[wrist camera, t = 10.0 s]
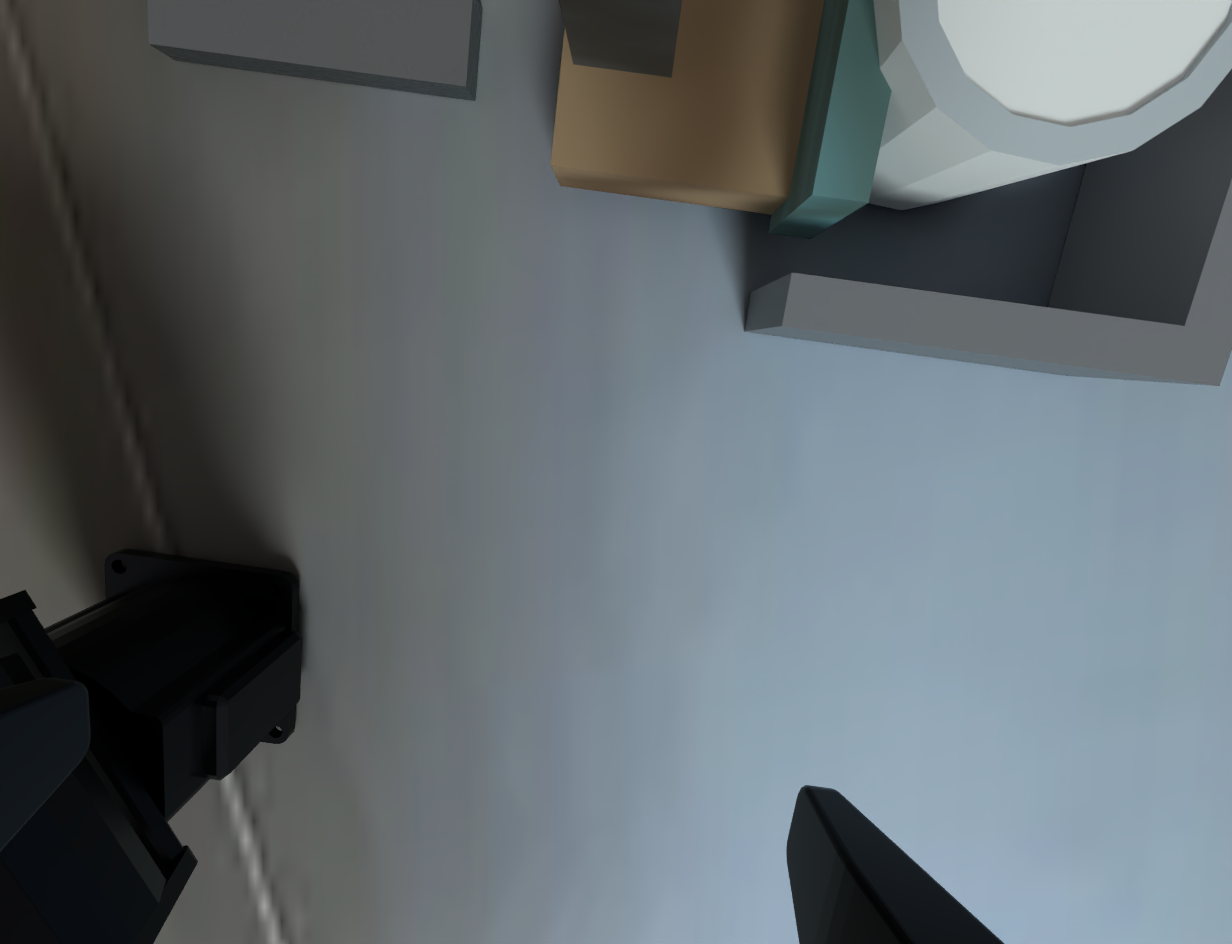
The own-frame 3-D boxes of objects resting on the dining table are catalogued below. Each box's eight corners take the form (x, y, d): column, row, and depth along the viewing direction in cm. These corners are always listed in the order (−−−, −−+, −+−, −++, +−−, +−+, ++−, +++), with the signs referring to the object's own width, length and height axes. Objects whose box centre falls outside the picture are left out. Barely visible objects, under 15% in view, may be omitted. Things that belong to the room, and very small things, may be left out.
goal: (744, 331, 19) (781, 326, 14) (832, -178, 16) (917, -404, 11) (1068, 375, 19) (1219, 385, 14) (1212, -128, 16) (1462, -335, 11)
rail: (175, 60, 18) (148, 43, 17) (173, -33, 17) (145, -55, 16) (475, 100, 18) (466, 86, 17) (482, 9, 17) (473, -11, 16)
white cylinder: (800, -30, 17) (919, -289, 10) (1050, -31, 17) (1344, -294, 10) (784, 232, 18) (879, 163, 11) (1014, 232, 18) (1251, 163, 11)
